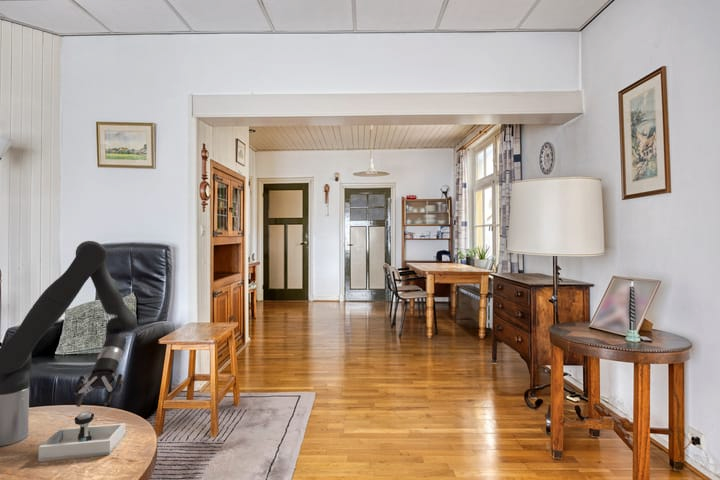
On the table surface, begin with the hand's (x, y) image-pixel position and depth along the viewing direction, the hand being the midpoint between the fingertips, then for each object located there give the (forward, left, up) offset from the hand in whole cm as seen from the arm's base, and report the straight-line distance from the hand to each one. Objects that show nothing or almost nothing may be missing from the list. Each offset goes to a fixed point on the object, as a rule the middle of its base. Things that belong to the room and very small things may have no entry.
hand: (91, 405), depth 128 cm
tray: (0, -4, -12) cm, 13 cm away
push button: (0, -4, -12) cm, 12 cm away
